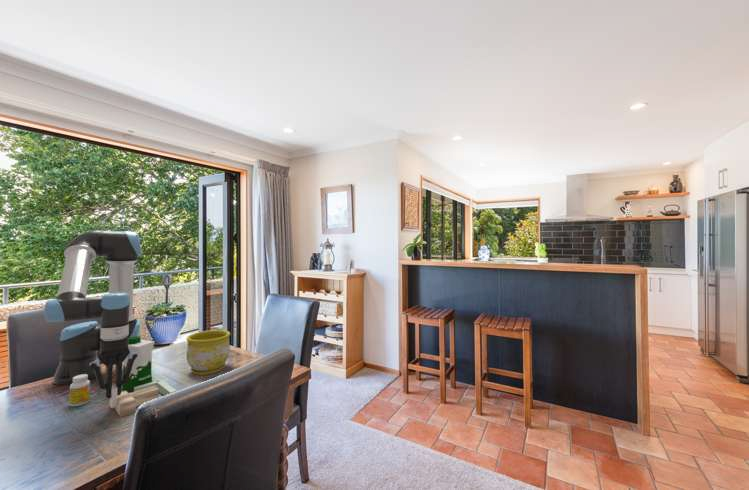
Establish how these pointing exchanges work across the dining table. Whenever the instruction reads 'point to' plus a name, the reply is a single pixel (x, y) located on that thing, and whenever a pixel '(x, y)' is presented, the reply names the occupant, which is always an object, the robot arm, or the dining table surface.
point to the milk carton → (139, 363)
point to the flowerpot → (208, 351)
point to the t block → (134, 400)
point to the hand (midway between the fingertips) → (113, 405)
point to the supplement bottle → (79, 390)
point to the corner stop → (160, 384)
